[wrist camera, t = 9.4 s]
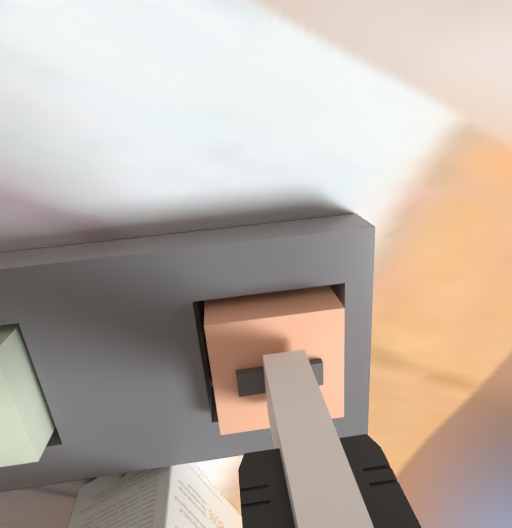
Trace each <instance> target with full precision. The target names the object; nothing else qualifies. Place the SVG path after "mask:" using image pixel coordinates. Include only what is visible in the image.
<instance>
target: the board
mask: <svg viewBox="0 0 512 528" xmlns="http://www.w3.org/2000/svg"><path fill="white" fill-rule="evenodd" d="M374 243H375V226H373V225H372V224H370V223H369V222H367V221H366V220H364V219H363V218H361V217H360V216H359V215H357V214H347V215H338V216H329V217H319V218H310V219H301V220H292V221H283V222H274V223H265V224H256V225H247V226H238V227H229V228H219V229H210V230H201V231H192V232H183V233H174V234H165V235H156V236H147V237H138V238H129V239H119V240H110V241H101V242H92V243H83V244H74V245H65V246H56V247H47V248H38V249H28V250H19V251H10V252H1V253H0V325H8V324H17V323H19V326H20V329H21V331H22V334H23V337H24V340H25V342H26V345H27V348H28V351H29V354H30V356H31V359H32V362H33V365H34V367H35V370H36V373H37V376H38V378H39V381H40V384H41V387H42V389H43V392H44V395H45V398H46V400H47V403H48V406H49V409H50V411H51V414H52V417H53V420H54V422H55V425H56V427H55V429H54V431H53V433H52V435H51V437H50V439H49V441H48V443H47V445H46V447H45V449H44V451H43V453H42V455H41V457H40V459H39V461H38V462H32V463H25V464H19V465H12V466H5V467H0V492H4V491H10V490H17V489H23V488H30V487H36V486H43V485H49V484H56V483H63V482H69V481H76V480H82V479H89V478H95V477H102V476H108V475H115V474H121V473H128V472H134V471H141V470H148V469H154V468H161V467H167V466H174V465H180V464H187V463H193V462H200V461H206V460H213V459H220V458H226V457H233V456H239V455H244V454H245V453H250V452H256V451H263V450H270V449H274V445H273V440H272V434H271V429H270V428H266V429H260V430H253V431H246V432H240V433H233V434H226V435H221V434H220V427H219V421H218V414H217V408H216V401H215V395H214V391H212V389H211V383H210V377H209V370H208V364H207V357H206V351H205V345H204V338H203V332H202V325H201V319H200V313H199V306H198V301H203V300H212V299H220V298H228V297H236V296H244V295H252V294H260V293H268V292H277V291H285V290H293V289H301V288H309V287H317V286H325V285H330V287H331V289H332V290H333V292H334V293H335V295H336V296H337V297H338V299H339V300H340V302H341V303H342V305H343V306H344V308H345V345H344V417H340V418H334V419H332V421H333V424H334V426H335V429H336V431H337V434H338V437H339V438H343V437H349V436H356V435H363V434H367V435H368V409H369V381H370V354H371V326H372V298H373V271H374Z"/></svg>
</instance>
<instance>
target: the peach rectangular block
mask: <svg viewBox="0 0 512 528" xmlns="http://www.w3.org/2000/svg"><path fill="white" fill-rule="evenodd" d="M204 330H205V336H206V343H207V349H208V356H209V362H210V369H211V375H212V382H213V388H214V395H215V401H216V408H217V414H218V421H219V427H220V434H221V435H226V434H233V433H240V432H246V431H253V430H260V429H266V428H270V423H269V418H268V409H267V398H266V387H265V376H264V365H263V355H267V354H275V353H282V352H290V351H297V350H305V352H306V354H307V357H308V360H309V362H310V365H311V367H312V370H313V372H314V375H315V378H316V380H317V383H318V385H319V388H320V390H321V393H322V396H323V398H324V401H325V403H326V406H327V408H328V411H329V414H330V416H331V419H334V418H340V417H344V345H345V308H344V306H343V305H342V303H341V302H340V300H339V299H338V297H337V296H336V295H335V293H334V292H333V290H332V289H331V287H330V286H329V285H325V286H317V287H309V288H301V289H293V290H285V291H277V292H268V293H260V294H252V295H244V296H236V297H228V298H220V299H212V300H205V309H204Z"/></svg>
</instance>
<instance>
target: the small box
mask: <svg viewBox="0 0 512 528" xmlns="http://www.w3.org/2000/svg"><path fill="white" fill-rule="evenodd" d="M67 528H243V527H242V516H241V515H240V514H239V513H238V512H237V511H236V510H235V509H234V507H233V506H232V505H231V504H230V503H229V502H228V501H227V500H226V498H225V497H224V496H223V495H222V494H221V493H220V492H219V491H218V489H217V488H216V487H215V486H214V485H213V484H212V483H211V481H210V480H209V479H208V478H207V477H206V476H205V475H204V473H203V472H202V471H201V470H200V469H199V468H198V467H197V466H196V465H195V463H194V462H193V463H187V464H180V465H174V466H167V467H161V468H154V469H148V470H141V471H134V472H128V473H121V474H115V475H108V476H102V477H98V478H96V479H95V480H93V481H91V482H89V483H87V484H85V485H83V486H82V487H81V488H80V490H79V493H78V497H77V500H76V503H75V506H74V509H73V512H72V514H71V518H70V521H69V524H68V527H67Z"/></svg>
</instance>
